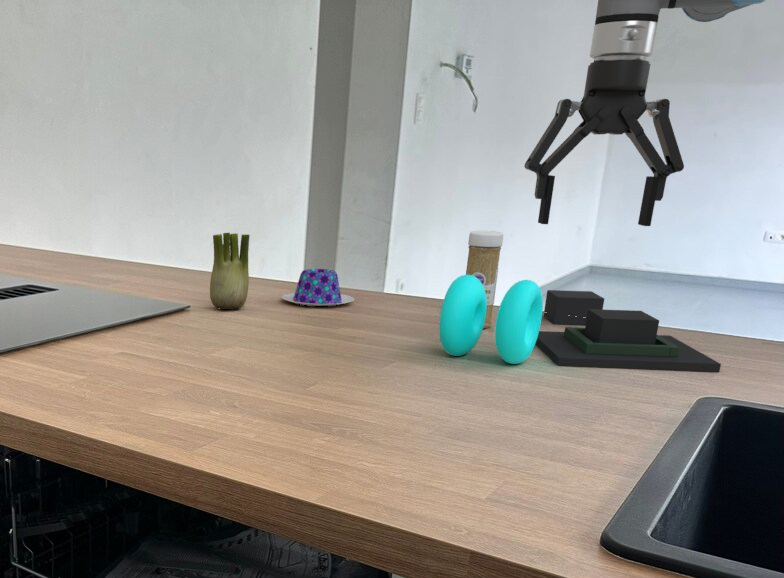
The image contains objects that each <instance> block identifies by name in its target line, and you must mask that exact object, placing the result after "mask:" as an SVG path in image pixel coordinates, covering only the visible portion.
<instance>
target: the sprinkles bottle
mask: <svg viewBox="0 0 784 578" xmlns="http://www.w3.org/2000/svg"><path fill="white" fill-rule="evenodd" d="M503 242H504V233H503V232H500V231H496V230H495V231H494V230H472V231H470V232H469V235H468V243H467V244H468V256H467V261H466V262H467V263H466V270H465V275H472V276H475V277H476V278H478V279H479V280H480V281H481V283H482V285H483V287H484V289H485V293H486V299H487V310H486V318H485V323H484V327H483V329H488V328H490V327H491V326H493V325H492V317H493V310H494V304H495V299H496V298H495V297H496V289H497V282H498V274H499V263H500V257H501V255H500V253H501V250H502V247H503Z"/></svg>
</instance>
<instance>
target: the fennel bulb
mask: <svg viewBox="0 0 784 578" xmlns="http://www.w3.org/2000/svg"><path fill="white" fill-rule="evenodd" d="M212 240H213V241H212V242H213V243H212V244H213V265H212V270H211V276H210V283H209V284H210V285H209V297H210V302H211V304H212V305H213V306H214V307H215V308H216V309H218V308H220V309H219V310H238V309H239V310H240V309H241V308H243V307H244V306H245V304H246V301H247V297H248V293H249V286H250V285H249V284H250V282H249V281H250V276H249V275H250V274H249V247H250V234H249V233H248V234H245V233H244V234H241V237H240V246H239V234H238V233H237V232H236V233H231V232H223V234H222V233H219V234H213V235H212Z"/></svg>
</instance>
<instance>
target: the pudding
mask: <svg viewBox="0 0 784 578" xmlns="http://www.w3.org/2000/svg"><path fill="white" fill-rule="evenodd" d="M338 276H339V275H338V273H337V271H336V270H333V269H328V268H308V269H304V270H302V271H301V273H300V274H299V277H298V278H299V279H298V281H297V285H296V288H295V292H291V293H286V294H283V295H282V296H281V299H282V300H285V301H286V302H290V303H294V304H296V305H299V304H300V306H304V305H307V306H306V307H315V306H328V307H336V305H337V306H340V305H344V304H348V303H351V302H354V301H355V298H354V297H353V296H350V295H348V294H343V293H341V287H340V283H339V282H340V281H339V277H338Z"/></svg>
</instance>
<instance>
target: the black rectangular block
mask: <svg viewBox="0 0 784 578" xmlns="http://www.w3.org/2000/svg"><path fill="white" fill-rule="evenodd" d="M659 326H660V319H657V317H656V318H655V317H654V316H652V315H650V314H649V313H646V312H645V311H643V310H628V309H626V310H625V309H603V310H600V309H588V313H587V319H586V325H584V328H585V331H584V336H585V337H587V338H588V339H589V340H591V341H592V342H593V343H618V344H645V345H655V341H656V336H657V335H658V330H659Z"/></svg>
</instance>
